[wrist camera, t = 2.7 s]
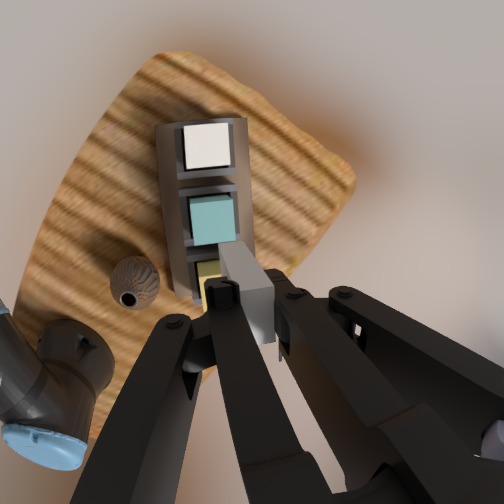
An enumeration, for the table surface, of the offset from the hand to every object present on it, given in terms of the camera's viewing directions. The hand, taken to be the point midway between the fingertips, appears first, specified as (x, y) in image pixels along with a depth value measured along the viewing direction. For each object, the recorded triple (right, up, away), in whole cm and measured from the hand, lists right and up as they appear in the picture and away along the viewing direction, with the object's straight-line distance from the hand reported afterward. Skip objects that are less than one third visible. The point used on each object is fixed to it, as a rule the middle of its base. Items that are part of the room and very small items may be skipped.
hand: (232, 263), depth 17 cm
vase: (-15, -2, +21) cm, 26 cm away
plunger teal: (-4, +5, +16) cm, 18 cm away
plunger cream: (-4, +13, +14) cm, 19 cm away
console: (-5, +7, +21) cm, 22 cm away
